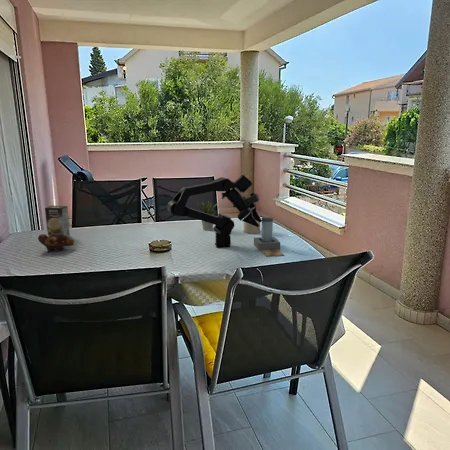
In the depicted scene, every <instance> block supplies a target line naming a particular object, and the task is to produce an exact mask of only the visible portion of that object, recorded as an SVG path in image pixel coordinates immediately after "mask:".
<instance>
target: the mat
mask: <svg viewBox="0 0 450 450" xmlns="http://www.w3.org/2000/svg"><path fill="white" fill-rule="evenodd" d="M261 252H262V254H263V255H264V256H265V257H266V258H268V257H269V258H270V257H282V256H283V257H284V256H285V254H284V253H283V252H282V251H281V249H280V250H279V249H273V250H262V251H261Z"/></svg>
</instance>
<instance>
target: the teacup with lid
mask: <svg viewBox="0 0 450 450" xmlns="http://www.w3.org/2000/svg"><path fill="white" fill-rule="evenodd" d="M258 215H259V217H260V218H261V215H260V214H259V213H258ZM256 222H257V223H258V225H259V226H258V227H256V226H254V225H251V224H249V223H246V222H244V221H243V232H244V233H245V234H251V235H255V234H259V233H260V232H261V222H258V221H256Z"/></svg>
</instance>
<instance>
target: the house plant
mask: <svg viewBox="0 0 450 450" xmlns="http://www.w3.org/2000/svg"><path fill="white" fill-rule="evenodd" d="M209 202H210V200H208V202H207V203H209ZM195 203H196V204H197V205H196V207H198V208H199V209H200V211H201V212H204V213H207V214H210V215H213V216H215V214H216V213H217V211H216V210H213V209H214V208H215V207H216V206H217V205H218V204H219V203H218V202H217V203H216V204H214V205H212V203H209V204H205V203H204V202H201V204H200V203H199V202H197V201H196V202H195ZM206 205H207V206H206ZM201 226H202V230H204V231H212V230H214V224H211V223H208V222H205V221H201Z"/></svg>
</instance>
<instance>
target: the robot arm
mask: <svg viewBox="0 0 450 450" xmlns="http://www.w3.org/2000/svg"><path fill="white" fill-rule="evenodd" d="M252 186H253V183H252V181H251V180H250V179H248V177H247V176H245V174H241V175H240V176H239V177H238V178H237V179H236V180H235V181H232V180H231V179H229V178H227V177H218V178H216V179H214V180H212V181H210V182H205V183H201V184H196V185H190V186H183V187H182V188H181V189H180V190H179V191H178V193H177V194H176V195H174V197H173V198H172V200H170V201H169V202H168V203H167V204H166V208H167V211H168V212H169V213H171V214H172V215H173V216H176V217H189V218H191V219H195V220H198V221H201V222H202V221H205V222H208V223H211V224H213V230H214V231H213V232H215V242H214V245H215V247H216V248H231V243H232V241H231V239H232V238H231V234H232V231H233V229H234V228H235V222H234V220H232V218H231V217H229V216H228V215H225V214H222V213H218V215H210V214H207V213H205V212H204V211H203V212H201V211H202V210H197V209H194V208H191V207H188V206H186V205H187V203H188V200H189V198H190V197H193V196H196V195H200V194H201V195H202V194H207V193H210V192H221V199H222V200H224V199H225V198H226V199H227V200H228V201H229V203H231V204H232V205H233V206H232V207H233V208H234V209H235V208H236V209H237V210H238V212H239V213H238V214H237V219H239V221H241V222H243V223H244V222H246V223H249V224H251V225H254V226H256V227H258V226H259V225H258V223H257V222H256V221H258V222H260V223H262V217H261V216H260V217H259V215H260V214H259V213H258V212H257V209H258V206H257V202H259V201H260V198H259V195H258V193H255V192H251V193H250V196H248V197H246V196H244V195H243V196H242V193H243V194H244V193H246V192H247V191H248V190H249V189H250V188H251V187H252ZM258 214H259V215H258Z"/></svg>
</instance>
